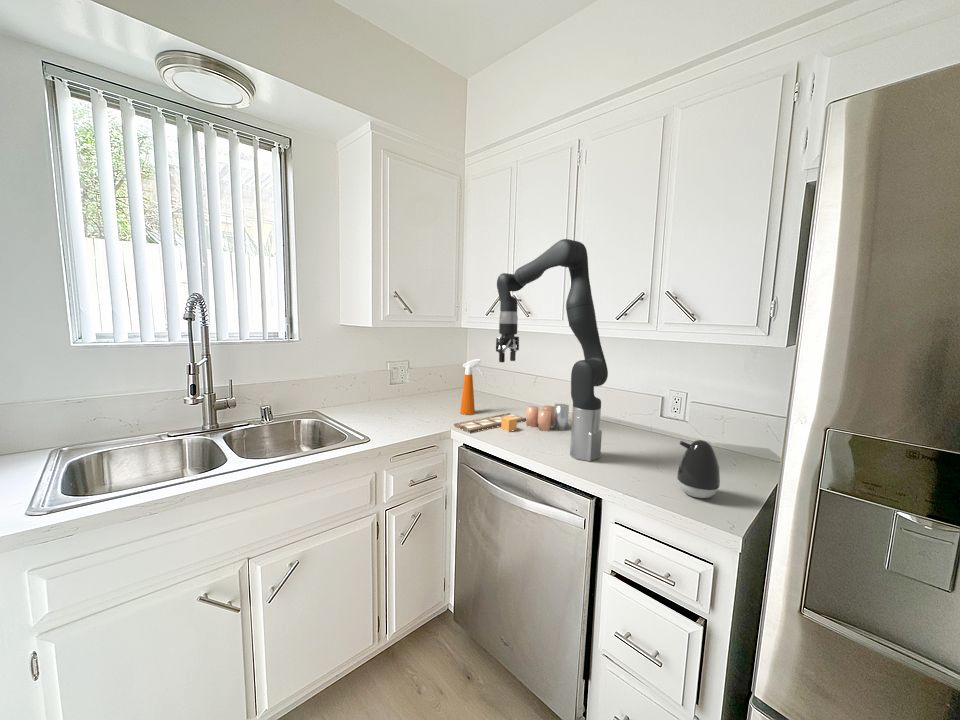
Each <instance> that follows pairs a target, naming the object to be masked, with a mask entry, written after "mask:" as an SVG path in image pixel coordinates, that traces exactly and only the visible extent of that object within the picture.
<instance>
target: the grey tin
mask: <svg viewBox="0 0 960 720" xmlns="http://www.w3.org/2000/svg"><path fill="white" fill-rule="evenodd" d="M569 411H570V406H569V405H568V404H565V403H556V404H554V424H553V429H554V430H556V429H557V431H567V430H568V427H569Z"/></svg>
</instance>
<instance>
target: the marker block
mask: <svg viewBox="0 0 960 720" xmlns="http://www.w3.org/2000/svg"><path fill="white" fill-rule="evenodd" d="M517 426H518V423H517V419H516V418H513V417H510V416H508V417H503V418H501V426H500V430H501V429H503V430H502V431H504V430H507V431H511V432H513V431H512V430H516V431H517ZM507 431H506V432H507Z"/></svg>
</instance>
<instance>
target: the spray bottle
mask: <svg viewBox="0 0 960 720" xmlns="http://www.w3.org/2000/svg"><path fill="white" fill-rule="evenodd" d="M481 362H482V359H481V358H478V359H477V358H476V359H475V358H474V359H472V360H469V361H467V362H465V363H464V364H462V367H463V368H465V370H464V375H463V376H464V378H463V384H462V385H463V386H462V393H461V394H462V395H461V402H460V411H459V412H460V414H462V415H464V414H465V416H467V415H468V416H469V415H470V414H472V415H475V413H476V410H475V394H474V380H473V377H474V376H473V368H474V369H476V371H477V372H479V373H480V375H482V376H484V373H483V372H482V369H480V366H479V365H480V364H479V363H481ZM470 416H471V415H470Z"/></svg>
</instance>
